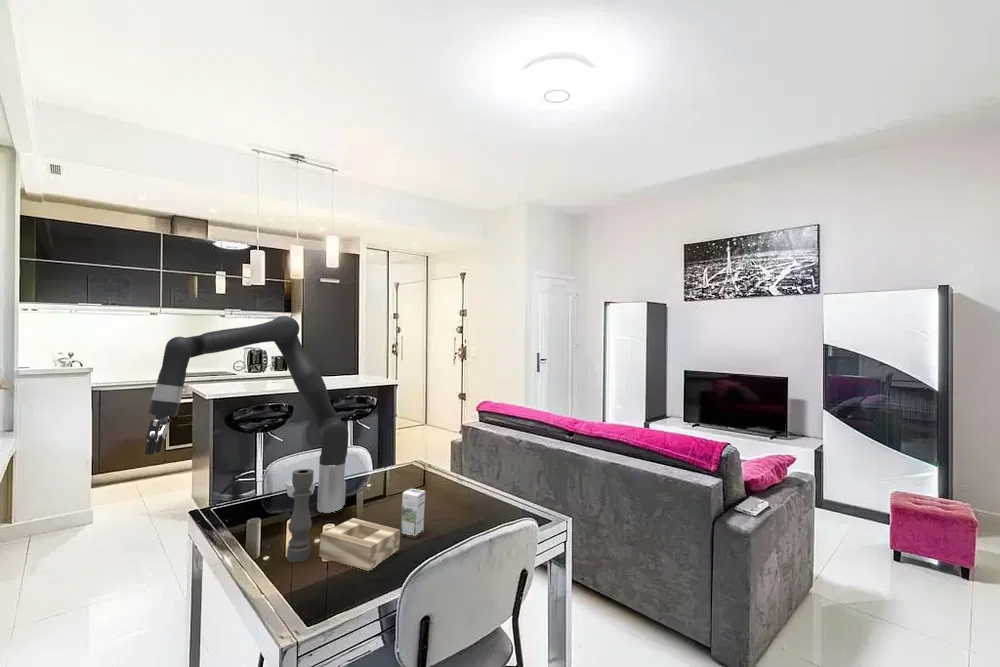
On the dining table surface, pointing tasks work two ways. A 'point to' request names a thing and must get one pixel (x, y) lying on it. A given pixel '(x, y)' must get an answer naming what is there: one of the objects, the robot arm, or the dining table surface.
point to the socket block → (359, 543)
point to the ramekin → (291, 489)
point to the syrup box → (412, 511)
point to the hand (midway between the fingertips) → (152, 453)
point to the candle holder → (300, 516)
